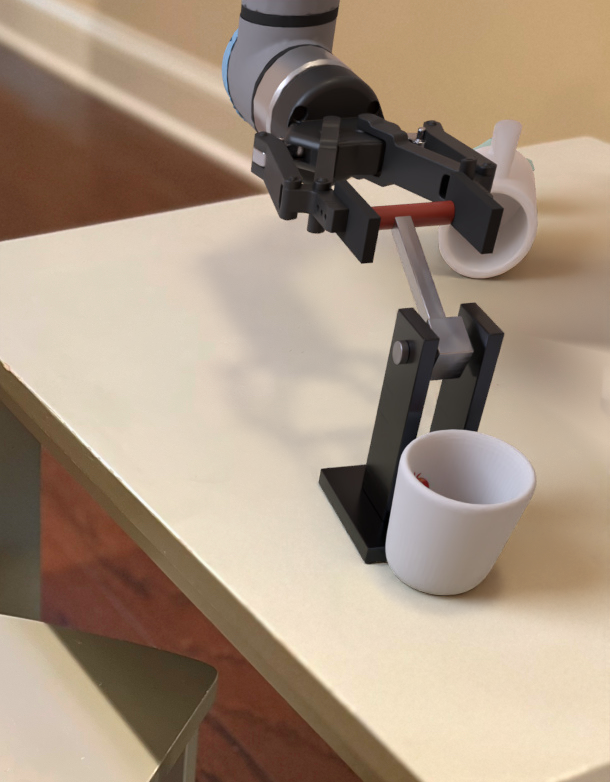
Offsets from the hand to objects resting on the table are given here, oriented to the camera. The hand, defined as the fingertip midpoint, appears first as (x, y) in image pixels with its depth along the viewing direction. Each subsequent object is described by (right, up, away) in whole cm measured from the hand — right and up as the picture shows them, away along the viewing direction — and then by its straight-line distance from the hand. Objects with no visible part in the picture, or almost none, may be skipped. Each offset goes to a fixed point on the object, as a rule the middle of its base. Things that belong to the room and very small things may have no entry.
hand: (431, 236), depth 72 cm
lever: (0, -3, +3) cm, 4 cm away
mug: (+18, +15, +39) cm, 45 cm away
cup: (+2, -19, +5) cm, 20 cm away
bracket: (+1, -15, +9) cm, 18 cm away
